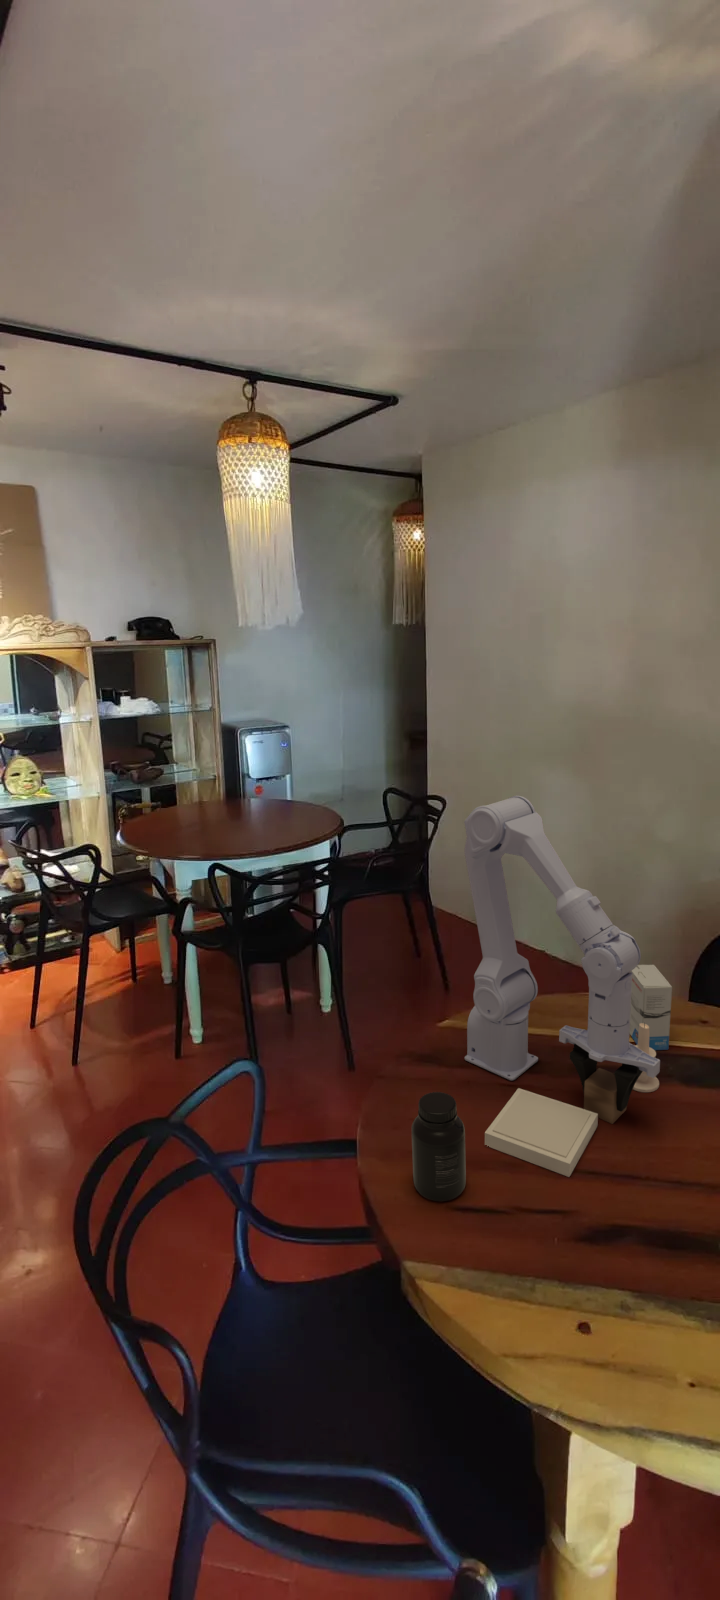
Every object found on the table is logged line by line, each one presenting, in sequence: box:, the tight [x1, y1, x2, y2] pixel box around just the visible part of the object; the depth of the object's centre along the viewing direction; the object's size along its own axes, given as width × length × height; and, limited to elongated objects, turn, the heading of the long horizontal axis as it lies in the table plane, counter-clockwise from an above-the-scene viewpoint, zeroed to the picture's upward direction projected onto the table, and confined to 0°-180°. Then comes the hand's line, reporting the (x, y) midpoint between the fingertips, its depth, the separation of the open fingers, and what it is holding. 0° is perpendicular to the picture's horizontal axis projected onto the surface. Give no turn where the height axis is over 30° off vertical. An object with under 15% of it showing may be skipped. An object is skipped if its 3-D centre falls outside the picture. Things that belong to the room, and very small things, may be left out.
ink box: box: [629, 964, 673, 1051], centre depth 130 cm, size 8×5×12 cm, turn 179°
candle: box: [632, 1022, 660, 1093], centre depth 117 cm, size 5×5×10 cm
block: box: [583, 1067, 628, 1125], centre depth 112 cm, size 4×4×5 cm
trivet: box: [484, 1087, 599, 1178], centre depth 107 cm, size 12×12×2 cm
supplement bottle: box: [411, 1091, 467, 1202], centre depth 98 cm, size 7×7×12 cm
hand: (605, 1100), depth 112 cm, fingers closed on block, 4 cm apart
